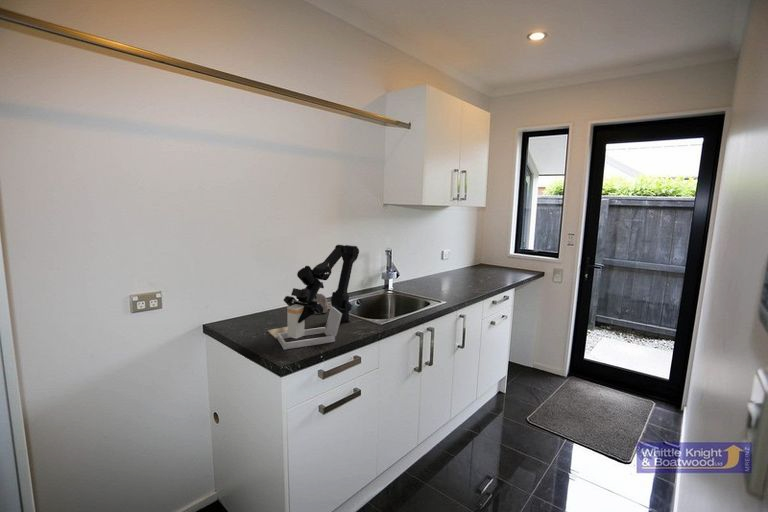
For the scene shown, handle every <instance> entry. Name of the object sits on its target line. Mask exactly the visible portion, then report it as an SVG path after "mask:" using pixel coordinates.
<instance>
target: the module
mask: <svg viewBox="0 0 768 512" xmlns="http://www.w3.org/2000/svg"><path fill="white" fill-rule="evenodd" d="M286 310H287V311H286V312H287V313H286V314H287V319H286V320H287V327H288V337H292V338H293V339H295V340H297V339H300V338H301V337H304V335H305V320H303V321H302V322H301V323H298V320H299V318H300V316H301V314H302V312H303V310H304V306H302V305H297V304H295V305H292V306H287V307H286ZM292 338H291V339H292Z"/></svg>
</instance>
